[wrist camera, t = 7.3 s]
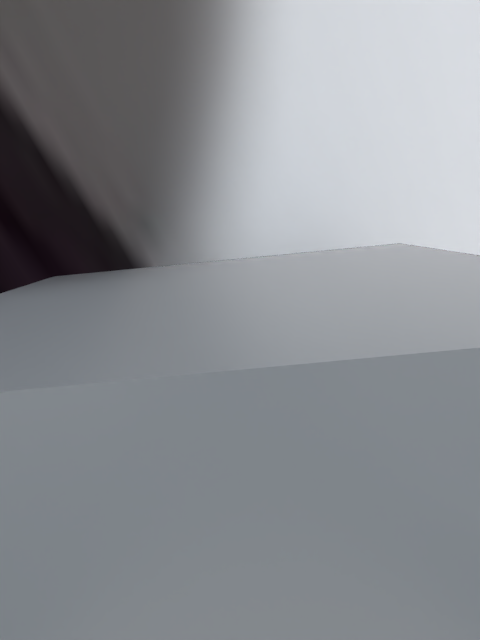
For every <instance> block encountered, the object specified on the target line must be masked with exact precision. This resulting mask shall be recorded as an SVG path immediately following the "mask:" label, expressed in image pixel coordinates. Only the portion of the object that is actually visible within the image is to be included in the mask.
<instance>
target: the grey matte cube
mask: <svg viewBox="0 0 480 640" xmlns="http://www.w3.org/2000/svg"><path fill="white" fill-rule="evenodd" d="M0 640H480V255H473V254H467V253H460V252H454V251H447V250H440V249H434V248H427V247H421V246H414V245H407V244H401V243H398V244H388V245H377V246H367V247H356V248H346V249H335V250H325V251H315V252H304V253H294V254H283V255H273V256H262V257H252V258H241V259H231V260H221V261H210V262H200V263H189V264H179V265H168V266H158V267H147V268H137V269H127V270H116V271H106V272H95V273H85V274H74V275H64V276H54V277H50V278H47V279H44V280H41V281H38V282H35V283H32V284H29V285H25V286H22V287H19V288H16V289H13V290H10V291H7V292H4V293H0Z"/></svg>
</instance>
